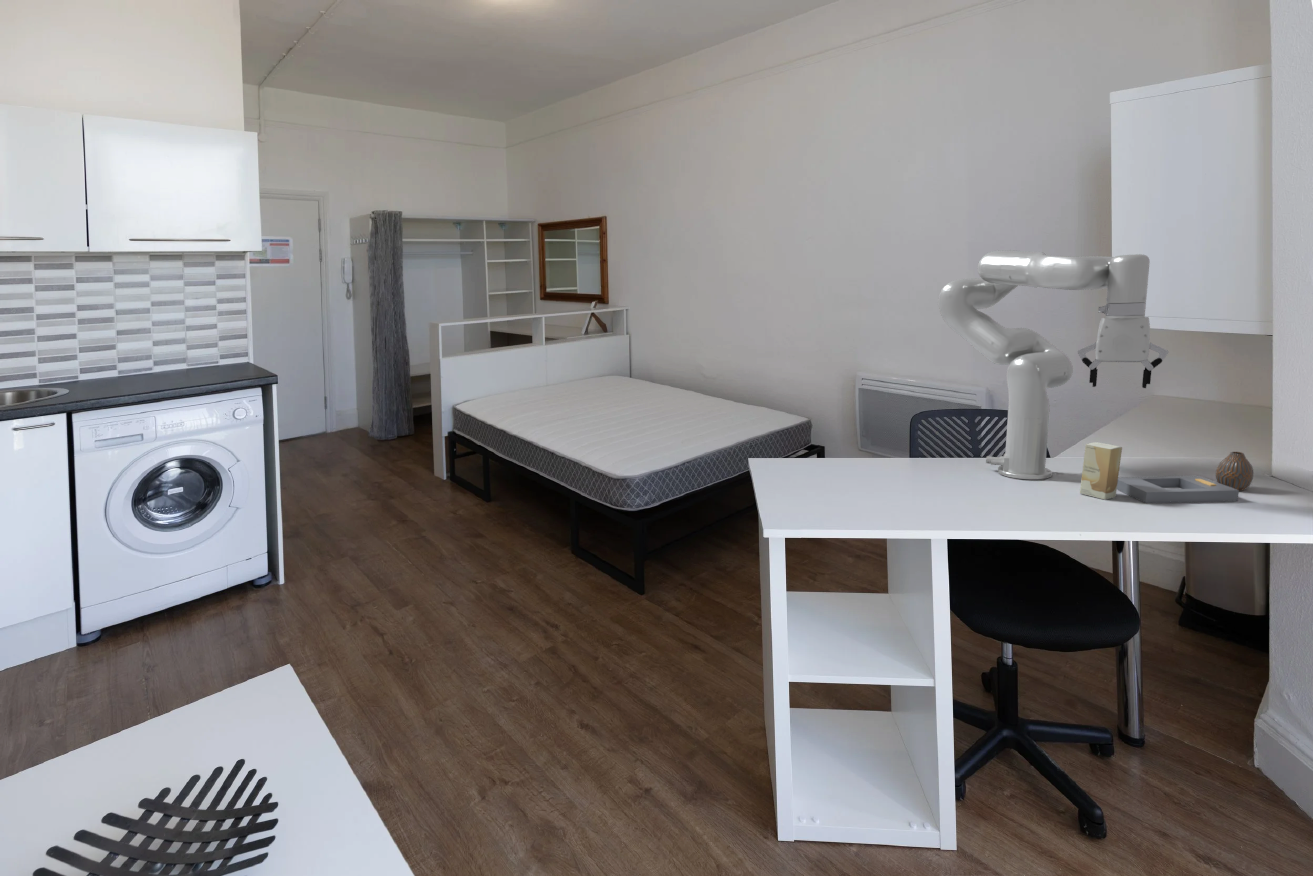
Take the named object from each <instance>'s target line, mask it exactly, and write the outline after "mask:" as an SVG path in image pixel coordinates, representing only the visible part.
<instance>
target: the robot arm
mask: <svg viewBox="0 0 1313 876" xmlns="http://www.w3.org/2000/svg"><path fill="white" fill-rule="evenodd" d="M1150 264H1151V263H1150V257H1149V256H1148V255H1145V254H1141V253H1139V254H1138V253H1137V254H1123V255H1116V256H1105V255H1103V256H1100V255H1098V256H1097V255H1096V256H1095V255H1094V256H1093V255H1091V256H1089V255H1086V256H1084V255H1083V256H1063V255H1048V254H1047V253H1045V252H1042V251H1020V250H994V251H990V252H987V253H986V254H984V255H983V256H982V257H981V259H979V262H978V264H977V274H978V275H979V278H960V279H956V280H951V281H950V282H948V283H947V284H945V285H944V286H943V287H942V288H941V289H940V292H939V294H938V302H937V303H938V309H939V313H940V316H941V318H942V320H943V321H944V322H945V324H946V325H947V326H948V327H949V328H950V329H951V330H952V331H954V333H956V334H957V335H958V336H960V337H961V338H962V339H964V340H965V341H966V342H967V343H968V344H970V346H972V347H973V348H974V349H975V350H976V351H978V352H979V353H980V354H981V355H982V356H984V357H985V358H986V359H987V360H988V361H990V362H991V363H992V364H995V365H998V366H1008V367H1007V369H1006V385H1007V390H1008V391H1007V393H1008V405H1007V407H1008V409H1007V422H1006V423H1007V425H1006V437H1005V438H1006V441H1005V453H1003V455H1000V456H999V457H996V456H995V457H994V456H989V455H987V456H986V458H985V459H986V460H985V464H990V465H991V466H997V472H998V474H1000V475H1001V476H1005V477H1008V478H1012V479H1019V480H1044V479H1048V478H1051V477H1052V475H1053V474H1052V473H1053V472H1052V470H1051V469H1049V468H1047V467H1046V463H1047V462H1046V461H1047V451H1048V437H1049V425H1050V413H1051V412H1050V411H1051V410H1050V406H1051V405H1050V400H1049V395H1048V393H1047V389H1053V388H1058V387H1061V386H1063V385H1065V384H1067V383H1068V382H1069V380H1071V378H1072V376H1073V373H1074V368H1073V363H1072V361H1071V359H1070V358H1069V356H1067V354H1066V353H1065V352H1063V351H1062V350H1061V349H1060V348H1058V347H1057V346H1056V345H1055V344H1053V343H1051V342H1050V341H1049V340H1047V338H1045V337H1044V336H1043V335H1041V334H1040V333H1038V332H1037V331H1035V330H1033V329H1030V328H1027V327H1011V328H1009V327H1005V326H1003V325H1001V324H1000V323H998V321H996V320H994V318H992V317H991V316H989V315H988V314H986V313H984V312H982V311H981V310H984V309H985V310H986V309H988V308H991V307H993V306H995V305H997V304H998V303H999V302H1000V301H1001V300H1003V299H1004V298H1005V297H1006V296H1007V295H1009V294H1010V293H1012V292H1013V290H1015V289H1017V288H1018V287H1032V288H1043V289H1052V290H1053V289H1054V290H1055V289H1056V290H1065V291H1066V290H1067V291H1084V290H1085V291H1086V290H1087V291H1088V290H1091V291H1092V290H1103V289H1106V298H1105V299H1106V301H1105V303H1106V304H1105V305H1102V306H1098V311H1097V312H1098V313H1101V314H1104V315H1105V316H1104V317H1101V318H1100V321H1099V324H1098V330H1097V335H1096V342H1094V343H1091V344H1090V345H1087V346H1084V347H1082V348H1080V349H1078V351H1077V354H1078V356H1079V358H1080V360H1081V361H1082V363H1083V364H1084V365H1085V366H1086V367H1087V368H1088V369H1089V370H1090V371H1089V381H1088V382H1089V384H1092V388H1095V387H1097V382H1098V369H1097V367H1098V366H1100V364H1101V363H1102V362H1103V363H1105V362H1106V363H1141V364H1142V366H1144V369H1143V371H1142V383H1141V384H1142V385H1141V387H1142V388H1143V389H1147V386H1148V385H1151V381H1152V379H1151V378H1152V371H1153V370H1154V369H1155V368H1156V367H1158V366H1159V365H1160V364H1162V362H1163V361H1164V360H1165V359H1166V357H1167V356H1168V355H1169V353H1170V352H1169V350H1168V349H1166V348H1164V347H1161V346H1160V345H1157V344H1155V343H1152V342H1151V341H1150V340H1151V326H1150V325H1151V324H1150V323H1151V322H1150V318H1149V316H1145V315H1146V308H1147V307H1146V306H1147V293H1148V287H1149V286H1148V285H1149V284H1148V283H1149V274H1150V273H1149V272H1150ZM1093 350H1095V351H1094V353H1095V359H1094V360H1093V361H1091V360H1090V359H1089V358H1088V356H1087V353H1088V352H1091V351H1093ZM1150 350H1152V351H1154V352H1156V353H1158V355H1157V357H1156V358H1154V359H1153V360H1152V361H1151V362H1150V360H1149V359H1148V358H1149V355H1150Z"/></svg>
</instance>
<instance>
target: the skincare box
mask: <svg viewBox="0 0 1313 876" xmlns="http://www.w3.org/2000/svg"><path fill="white" fill-rule="evenodd" d="M1084 448H1085V449H1084V455H1083V463H1082V464H1083V465H1082V472H1081V478H1080V479H1081V481H1080V489H1079V494H1080V495H1086V496H1090V497H1094V498H1097V499H1101V500H1105V501H1106V500H1110V499H1113V498H1116V496H1117V491H1118V490H1117V483H1118V477H1119V474H1120V467H1121V459H1122V451H1123V447H1122V446H1119V445H1114V444H1111V443H1110V444H1109V443H1103V442H1098V441H1095V442H1090V443H1085V446H1084Z"/></svg>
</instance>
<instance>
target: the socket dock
mask: <svg viewBox="0 0 1313 876" xmlns="http://www.w3.org/2000/svg"><path fill="white" fill-rule="evenodd" d="M1116 491H1119V492H1121V493H1123V494H1126V495H1128V496H1130V497H1132V498H1133V499H1136V500H1138V501H1141V502H1143V503H1144V504H1153V503H1154V504H1157V503H1158V504H1160V503H1161V504H1162V503H1163V504H1165V503H1166V504H1167V503H1205V502H1207V503H1208V502H1209V503H1210V502H1211V503H1213V502H1238V501H1239V493H1240V491H1239V490H1237V489H1234V488H1231V487H1228V486H1226V485H1223V484H1220V483H1218V482H1217V481H1214V480H1211V479H1209V478H1206V477H1203V476H1201V475H1160V476H1159V475H1158V476H1156V475H1154V476H1153V475H1152V476H1120V477H1119V476H1118V483H1117V490H1116Z"/></svg>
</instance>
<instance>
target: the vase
mask: <svg viewBox="0 0 1313 876" xmlns="http://www.w3.org/2000/svg"><path fill="white" fill-rule="evenodd" d="M1254 474H1255V473H1254V468H1253V466H1252V464H1251V462H1250V461H1249V460H1248V458H1247V457H1246V455H1245V452H1242V451H1241V452H1240V451H1231V452H1230V453H1229V454H1228V455H1227V456H1226V457H1225V458H1223V459H1222V460H1221V461H1220V462H1219V464H1218V465H1217V467H1216V470H1215V480H1216V482H1217V483H1220V484H1223V485H1226V486H1228V487H1231V488H1234V489H1237V490H1239V492H1241V491H1244V490H1247V488H1249V487H1250V486H1251V485H1252V483H1253V479H1254Z"/></svg>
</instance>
